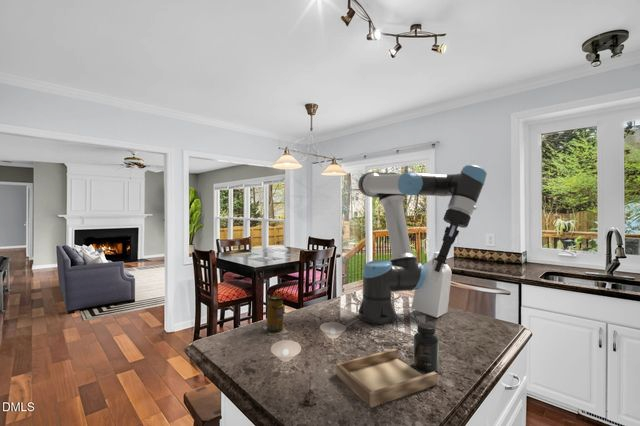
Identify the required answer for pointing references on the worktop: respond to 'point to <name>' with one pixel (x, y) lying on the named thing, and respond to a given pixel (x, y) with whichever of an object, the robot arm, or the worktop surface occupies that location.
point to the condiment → (275, 316)
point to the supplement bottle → (425, 348)
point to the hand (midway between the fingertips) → (432, 281)
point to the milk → (433, 291)
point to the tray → (382, 377)
